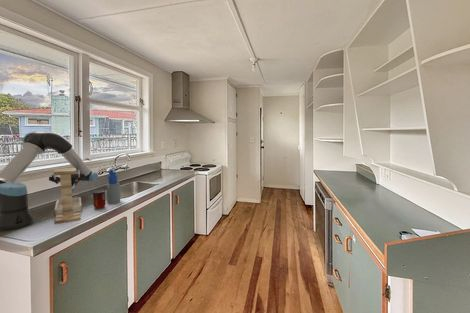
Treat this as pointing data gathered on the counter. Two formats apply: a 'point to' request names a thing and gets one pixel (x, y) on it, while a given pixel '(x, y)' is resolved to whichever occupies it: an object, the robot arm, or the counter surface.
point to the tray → (76, 206)
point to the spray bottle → (113, 188)
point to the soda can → (99, 199)
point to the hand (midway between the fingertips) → (66, 173)
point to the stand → (66, 196)
